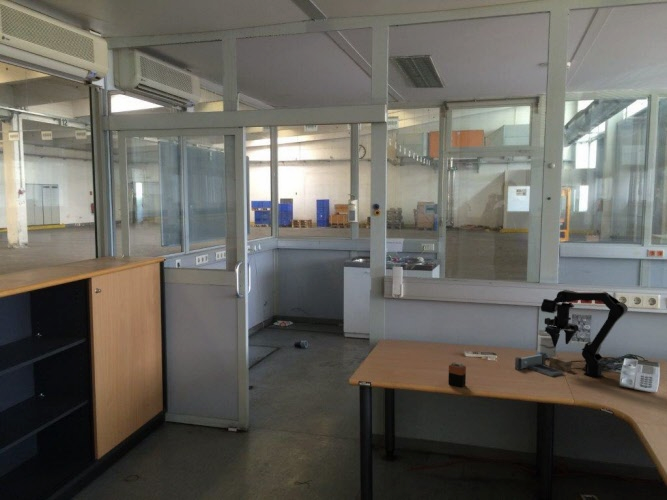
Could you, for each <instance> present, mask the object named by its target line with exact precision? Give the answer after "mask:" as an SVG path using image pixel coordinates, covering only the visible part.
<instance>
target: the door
mask: <svg viewBox="0 0 667 500" xmlns="http://www.w3.org/2000/svg"><path fill="white" fill-rule="evenodd" d="M520 358H521V370H522V369H528V365H533V364H538V363H539V364H542V355H541V354H539V355H537V354H535V355H529V356H524V357H520Z"/></svg>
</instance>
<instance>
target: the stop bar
mask: <svg viewBox="0 0 667 500" xmlns="http://www.w3.org/2000/svg"><path fill="white" fill-rule="evenodd" d="M548 363H549V367H552V368H555V369H558V370H561V371H563V372H565V373H567V372H570V371H572V360H569V359H568V360H567V359H565V358H562V357H558V356H556V357H555V356H553V357H550V358H549V362H548Z"/></svg>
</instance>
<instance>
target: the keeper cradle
mask: <svg viewBox="0 0 667 500" xmlns="http://www.w3.org/2000/svg"><path fill="white" fill-rule="evenodd" d="M527 369H529V370H530V371H534V372H537V373H540V374H542V375H546V376H548V377H552V378H554V377H558V376H562V375H564V371H562V370H559V369H556V368H553V367H550V366H548V365H546V364H545V365H542V364H539V363H538V364H533V365H528V367H527Z"/></svg>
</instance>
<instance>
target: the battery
mask: <svg viewBox="0 0 667 500" xmlns="http://www.w3.org/2000/svg"><path fill="white" fill-rule="evenodd" d="M466 371H467V366H466V365H463V364H460V363H459V364H458V363H457V362H451V363H450V364H449V365H448V380H447V381H448V385H451V386H454V387H458V388H463V387H464V386H466V379H467V377H466V376H467V372H466Z"/></svg>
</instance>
